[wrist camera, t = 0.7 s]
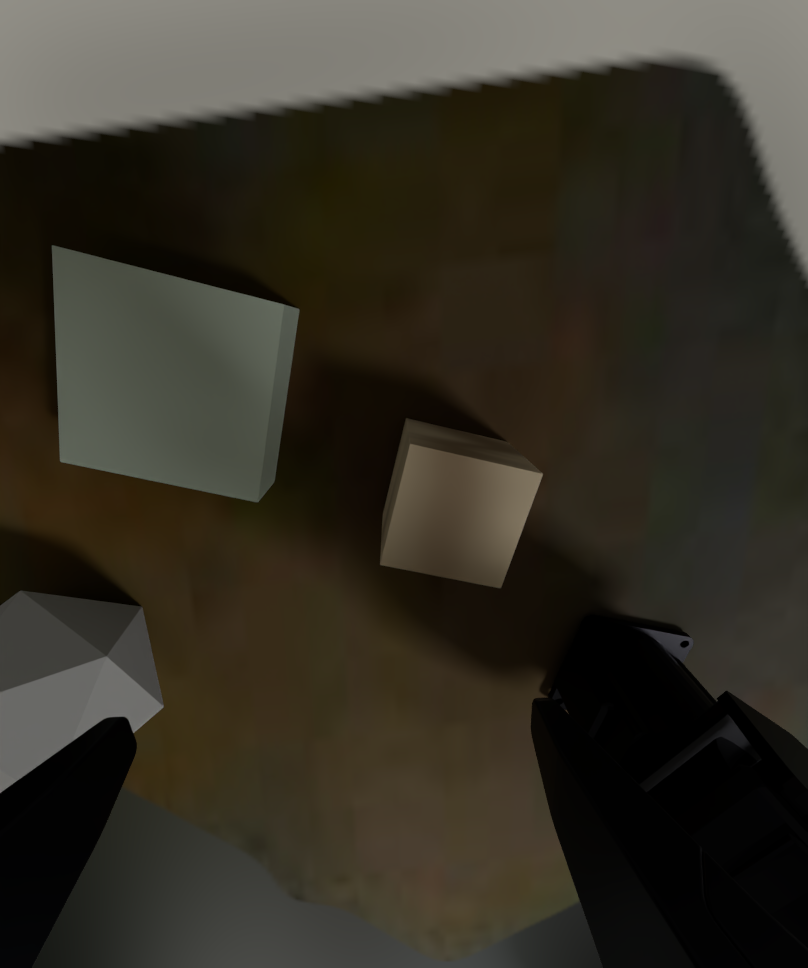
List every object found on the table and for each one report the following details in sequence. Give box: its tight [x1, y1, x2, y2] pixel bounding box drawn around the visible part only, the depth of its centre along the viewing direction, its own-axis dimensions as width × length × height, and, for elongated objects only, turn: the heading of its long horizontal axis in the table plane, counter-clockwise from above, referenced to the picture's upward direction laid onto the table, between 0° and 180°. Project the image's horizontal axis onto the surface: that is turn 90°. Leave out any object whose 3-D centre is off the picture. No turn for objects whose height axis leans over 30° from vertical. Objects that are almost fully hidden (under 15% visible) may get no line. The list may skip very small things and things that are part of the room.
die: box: [0, 590, 164, 793], centre depth 19 cm, size 8×9×10 cm
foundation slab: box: [52, 245, 299, 502], centre depth 17 cm, size 8×8×3 cm
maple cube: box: [380, 418, 543, 588], centre depth 18 cm, size 5×5×5 cm
